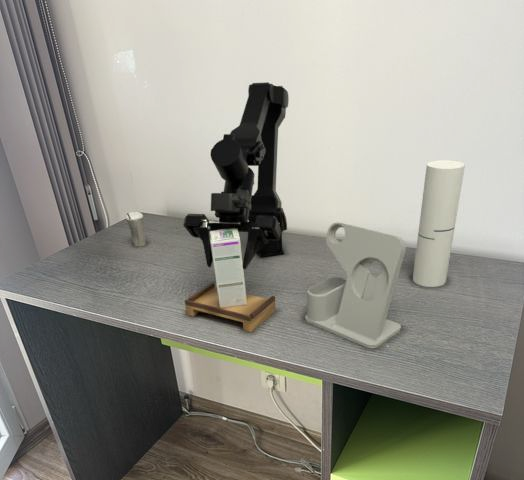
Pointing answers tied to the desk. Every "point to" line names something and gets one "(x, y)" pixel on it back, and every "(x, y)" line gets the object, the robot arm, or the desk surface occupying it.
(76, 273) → the desk surface
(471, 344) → the desk surface
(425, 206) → the cylindrical container
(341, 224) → the phone holder
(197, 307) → the wooden tray
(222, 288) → the syrup box
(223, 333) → the desk surface
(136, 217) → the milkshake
